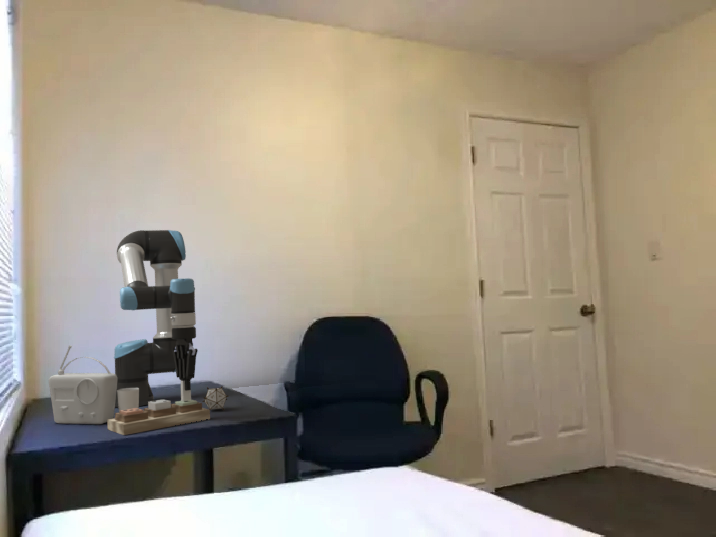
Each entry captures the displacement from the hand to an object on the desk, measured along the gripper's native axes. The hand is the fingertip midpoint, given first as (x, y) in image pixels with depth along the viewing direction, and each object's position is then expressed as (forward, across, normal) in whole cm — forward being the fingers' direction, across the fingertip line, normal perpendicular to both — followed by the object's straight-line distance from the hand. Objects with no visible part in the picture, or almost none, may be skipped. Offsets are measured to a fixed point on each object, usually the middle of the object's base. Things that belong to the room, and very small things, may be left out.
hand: (186, 400), depth 209 cm
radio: (+6, -24, -24) cm, 35 cm away
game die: (+6, -6, +14) cm, 17 cm away
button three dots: (+3, 0, -18) cm, 18 cm away
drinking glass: (+6, -14, -13) cm, 20 cm away
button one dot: (+3, 0, 0) cm, 3 cm away
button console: (+6, 0, -9) cm, 11 cm away
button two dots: (+2, 0, -9) cm, 9 cm away
